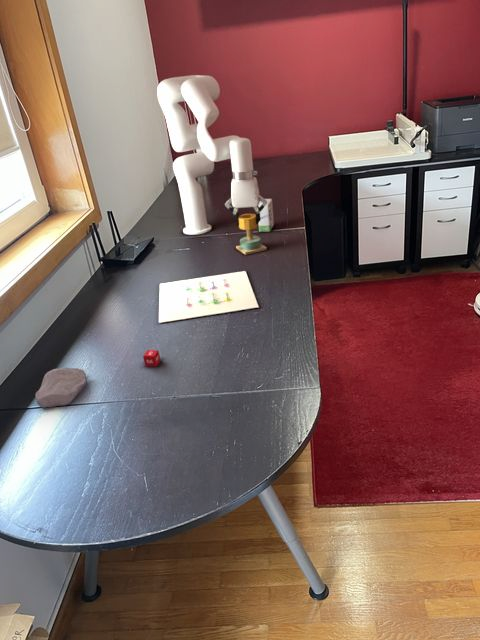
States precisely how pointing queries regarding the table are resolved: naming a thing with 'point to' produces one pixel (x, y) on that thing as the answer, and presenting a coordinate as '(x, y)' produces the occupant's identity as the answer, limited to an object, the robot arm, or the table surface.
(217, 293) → the printed paper
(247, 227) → the ring
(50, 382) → the stone block
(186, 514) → the table surface
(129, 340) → the table surface
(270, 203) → the ink box
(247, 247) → the stacking peg
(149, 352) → the dice
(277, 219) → the table surface
